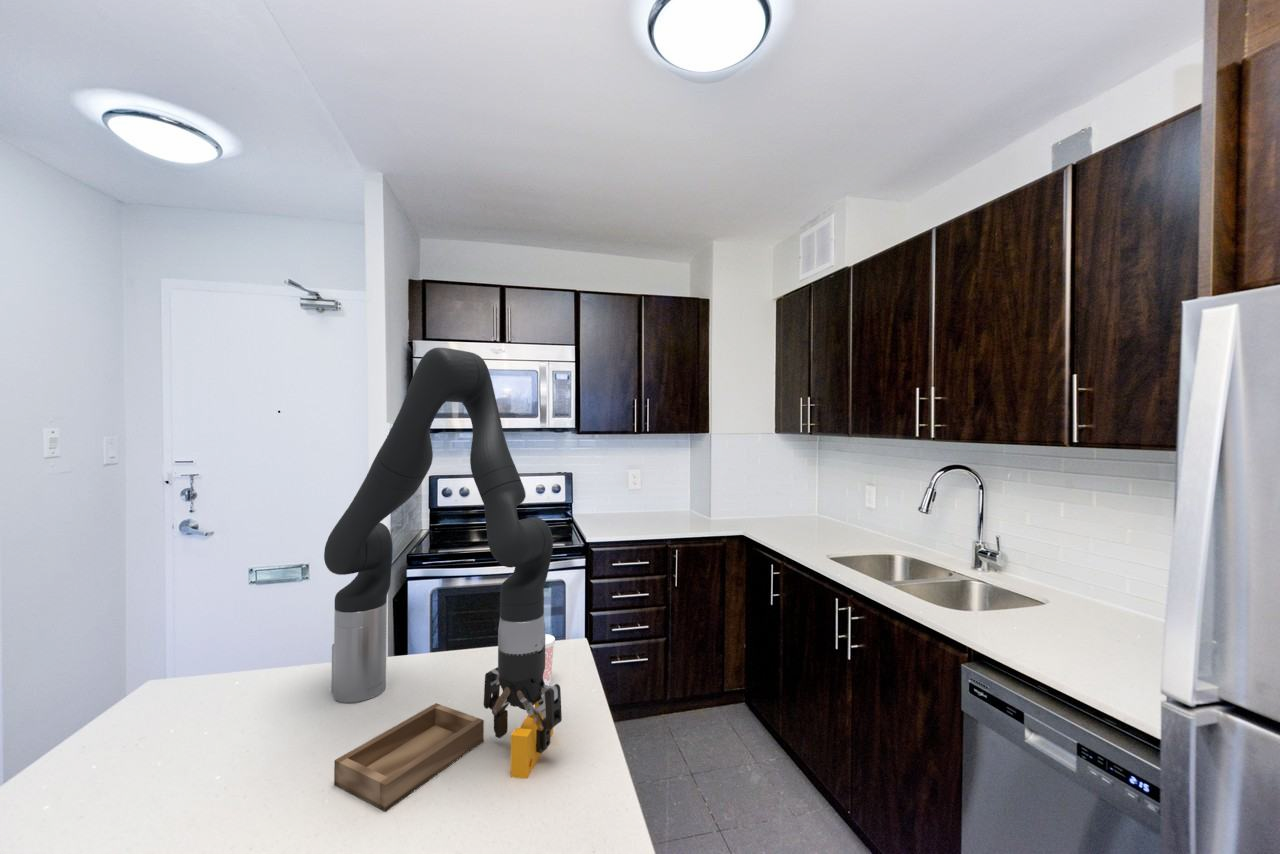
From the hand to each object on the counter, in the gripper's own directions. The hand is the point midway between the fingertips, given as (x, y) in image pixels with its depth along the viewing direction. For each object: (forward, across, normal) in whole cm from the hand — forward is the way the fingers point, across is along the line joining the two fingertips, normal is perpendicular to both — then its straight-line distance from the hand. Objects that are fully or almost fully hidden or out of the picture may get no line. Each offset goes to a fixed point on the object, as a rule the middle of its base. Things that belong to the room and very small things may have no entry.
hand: (521, 742), depth 85 cm
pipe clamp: (+2, +1, 0) cm, 2 cm away
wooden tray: (+1, -13, -10) cm, 17 cm away
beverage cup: (+2, -12, +20) cm, 23 cm away
